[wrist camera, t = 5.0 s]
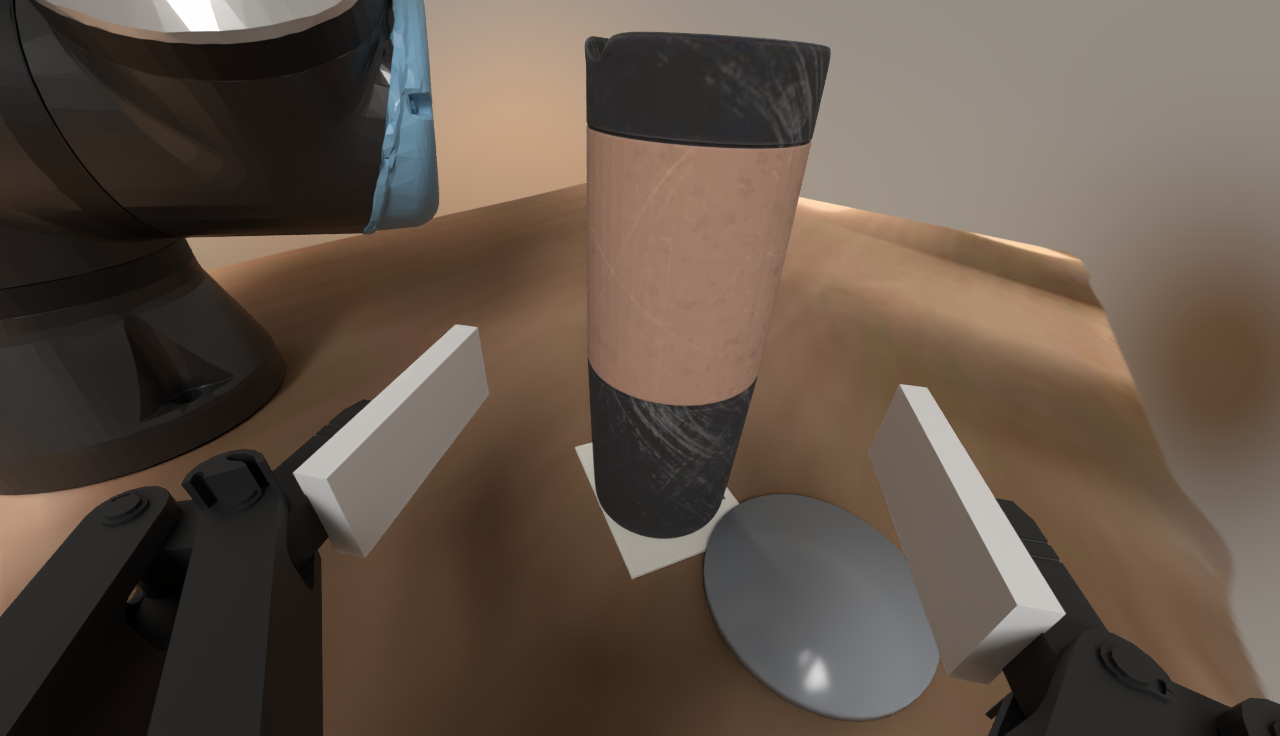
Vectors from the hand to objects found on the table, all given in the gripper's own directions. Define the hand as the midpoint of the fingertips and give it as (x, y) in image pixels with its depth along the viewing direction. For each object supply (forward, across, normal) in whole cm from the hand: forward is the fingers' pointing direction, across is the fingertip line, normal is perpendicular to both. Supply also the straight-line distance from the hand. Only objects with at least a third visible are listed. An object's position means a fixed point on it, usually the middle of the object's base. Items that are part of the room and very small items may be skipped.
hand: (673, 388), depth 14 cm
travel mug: (+6, 0, -11) cm, 12 cm away
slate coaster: (+1, +7, -11) cm, 13 cm away
